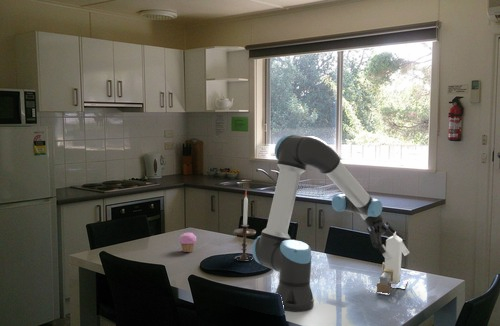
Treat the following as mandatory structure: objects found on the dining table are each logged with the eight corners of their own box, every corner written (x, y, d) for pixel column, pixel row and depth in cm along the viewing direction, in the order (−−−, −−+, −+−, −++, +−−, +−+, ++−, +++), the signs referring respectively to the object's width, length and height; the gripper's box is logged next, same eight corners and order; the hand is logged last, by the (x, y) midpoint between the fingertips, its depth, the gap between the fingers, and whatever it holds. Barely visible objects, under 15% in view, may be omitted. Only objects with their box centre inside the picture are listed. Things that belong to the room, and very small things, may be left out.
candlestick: (252, 263, 235) (255, 191, 232) (230, 261, 238) (232, 190, 234) (256, 257, 246) (259, 188, 243) (235, 255, 248) (237, 187, 245)
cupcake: (197, 250, 256) (198, 231, 255) (194, 254, 247) (194, 235, 247) (181, 249, 257) (181, 230, 256) (176, 253, 248) (177, 234, 247)
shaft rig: (403, 298, 195) (404, 279, 195) (372, 293, 200) (373, 274, 199) (409, 274, 227) (410, 257, 226) (382, 270, 231) (383, 254, 231)
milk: (383, 283, 212) (385, 233, 210) (386, 279, 218) (388, 230, 215) (398, 285, 209) (400, 234, 207) (400, 281, 215) (403, 231, 213)
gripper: (381, 218, 231) (408, 256, 221) (348, 224, 214) (376, 266, 205) (392, 208, 226) (419, 247, 216) (359, 214, 210) (387, 256, 200)
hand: (398, 256), depth 211 cm, fingers open, 13 cm apart
